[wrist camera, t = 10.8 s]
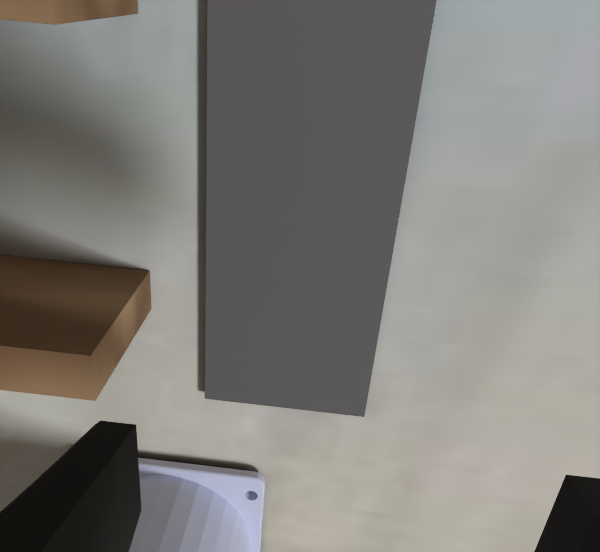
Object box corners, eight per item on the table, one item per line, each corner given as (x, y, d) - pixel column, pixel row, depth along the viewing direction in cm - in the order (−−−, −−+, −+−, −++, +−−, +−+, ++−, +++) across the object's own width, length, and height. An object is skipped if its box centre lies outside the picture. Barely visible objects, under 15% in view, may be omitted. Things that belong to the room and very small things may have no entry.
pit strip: (363, 411, 21) (363, 416, 21) (206, 393, 22) (204, 398, 21) (467, -192, 13) (470, -195, 13) (211, -213, 13) (208, -217, 13)
